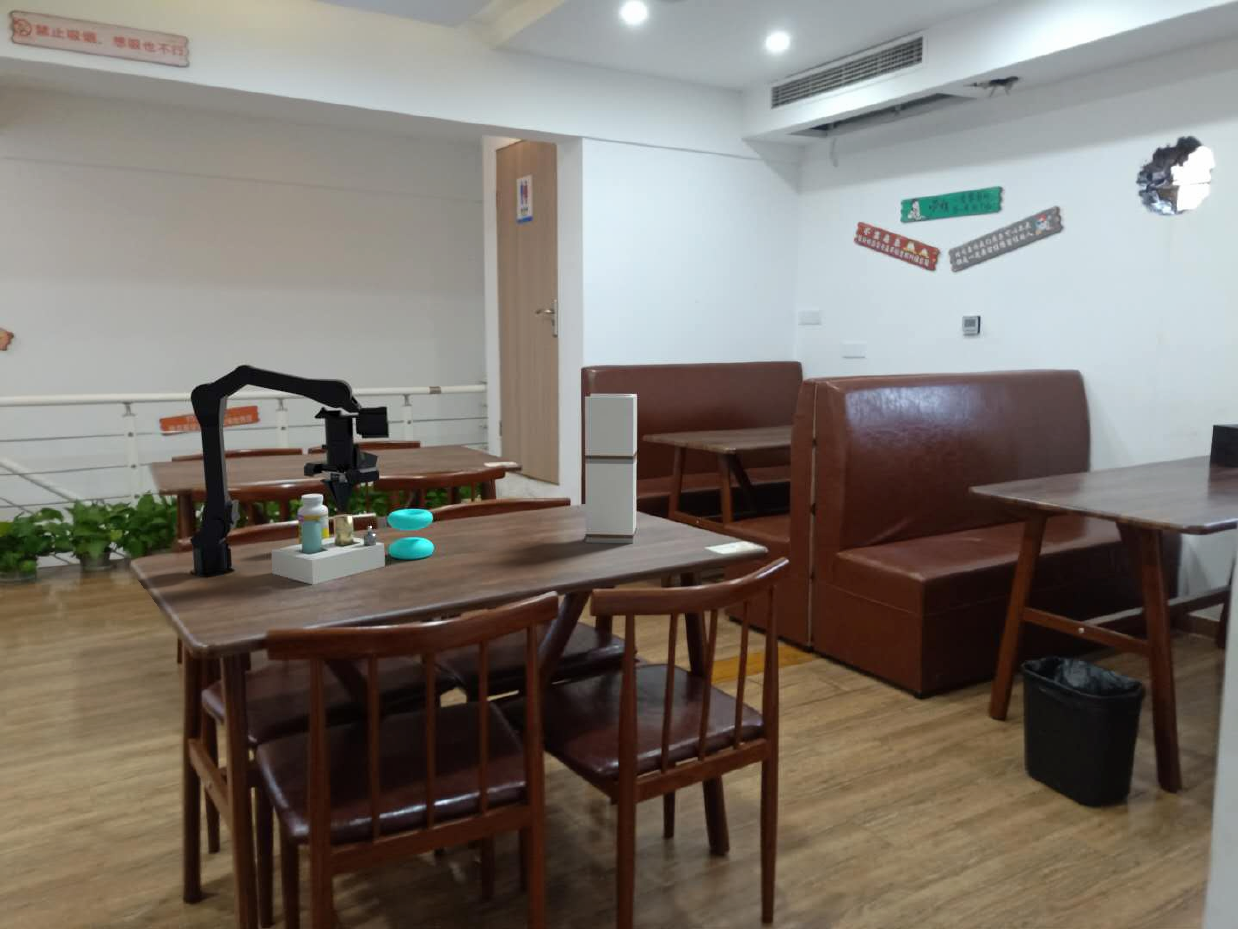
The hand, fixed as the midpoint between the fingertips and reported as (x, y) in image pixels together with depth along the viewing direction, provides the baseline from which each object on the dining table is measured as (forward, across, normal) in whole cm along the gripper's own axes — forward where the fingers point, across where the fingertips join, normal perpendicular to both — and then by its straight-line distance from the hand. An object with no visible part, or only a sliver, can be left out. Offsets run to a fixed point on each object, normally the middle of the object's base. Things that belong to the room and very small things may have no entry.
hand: (342, 511), depth 195 cm
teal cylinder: (+8, 0, +8) cm, 11 cm away
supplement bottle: (+12, +18, -5) cm, 22 cm away
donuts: (+12, -4, -15) cm, 20 cm away
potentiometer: (+7, -6, -2) cm, 9 cm away
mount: (+12, 0, +4) cm, 13 cm away
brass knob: (+8, 0, 0) cm, 8 cm away
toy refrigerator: (+12, -30, -56) cm, 65 cm away
